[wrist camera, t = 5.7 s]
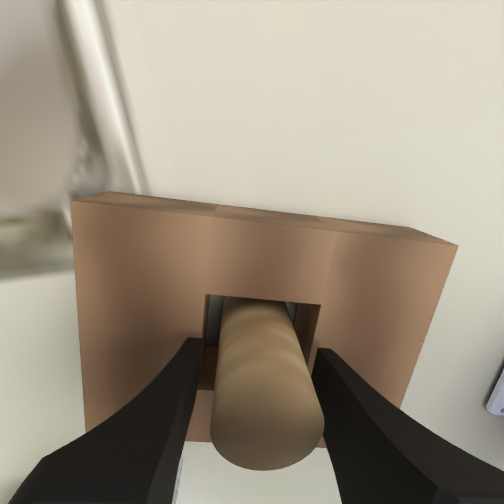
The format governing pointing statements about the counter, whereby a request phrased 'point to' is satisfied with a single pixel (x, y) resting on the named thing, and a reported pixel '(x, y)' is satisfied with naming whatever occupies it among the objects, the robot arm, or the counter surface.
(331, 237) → the walnut board
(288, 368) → the oak peg
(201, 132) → the counter surface
